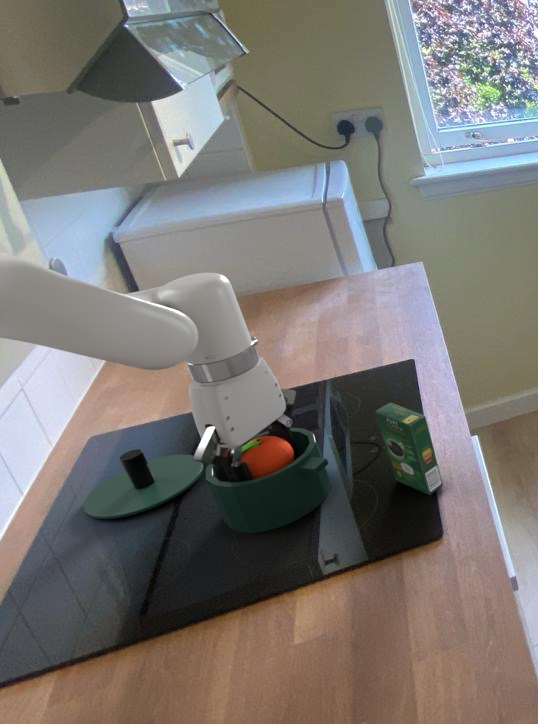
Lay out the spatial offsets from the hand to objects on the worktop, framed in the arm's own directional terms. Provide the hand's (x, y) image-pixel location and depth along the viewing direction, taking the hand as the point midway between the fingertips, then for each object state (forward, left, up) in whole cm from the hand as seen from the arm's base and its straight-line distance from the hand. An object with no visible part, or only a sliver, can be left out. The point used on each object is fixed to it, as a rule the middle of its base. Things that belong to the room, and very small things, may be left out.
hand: (265, 466), depth 107 cm
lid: (0, +23, -6) cm, 24 cm away
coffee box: (+6, -19, -7) cm, 21 cm away
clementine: (0, 0, -3) cm, 3 cm away
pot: (0, 0, -7) cm, 7 cm away
